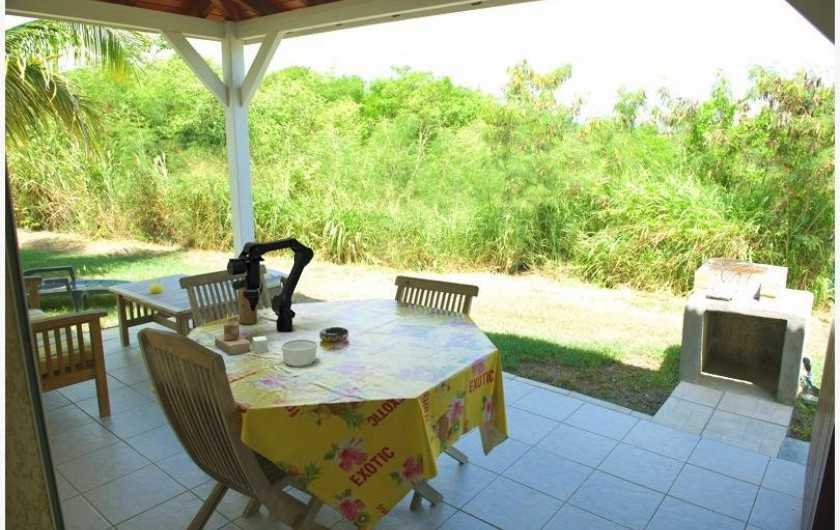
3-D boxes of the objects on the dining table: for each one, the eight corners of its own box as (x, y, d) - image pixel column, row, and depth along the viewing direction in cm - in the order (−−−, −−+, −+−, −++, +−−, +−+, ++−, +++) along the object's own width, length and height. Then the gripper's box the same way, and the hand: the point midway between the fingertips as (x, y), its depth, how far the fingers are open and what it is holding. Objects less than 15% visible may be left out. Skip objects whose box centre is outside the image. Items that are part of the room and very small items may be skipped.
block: (257, 324, 258) (256, 281, 254) (240, 325, 254) (239, 283, 251) (254, 317, 267) (253, 277, 263) (238, 319, 264) (236, 278, 260)
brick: (213, 345, 229) (213, 334, 228) (233, 341, 235) (233, 330, 234) (230, 357, 217) (230, 345, 216) (251, 352, 222) (250, 341, 222)
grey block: (265, 347, 227) (265, 336, 226) (267, 351, 223) (267, 339, 222) (252, 349, 225) (252, 337, 224) (254, 353, 221) (254, 341, 220)
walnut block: (239, 335, 228) (238, 321, 227) (237, 339, 223) (236, 325, 222) (226, 336, 227) (225, 322, 226) (224, 340, 222) (223, 325, 221)
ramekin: (286, 370, 204) (286, 352, 203) (278, 358, 216) (277, 341, 214) (321, 364, 210) (321, 347, 209) (311, 353, 222) (311, 336, 220)
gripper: (236, 268, 243) (238, 303, 246) (229, 277, 225) (231, 314, 228) (263, 267, 245) (264, 302, 248) (258, 277, 227) (259, 314, 230)
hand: (254, 308), depth 238 cm, fingers open, 9 cm apart
